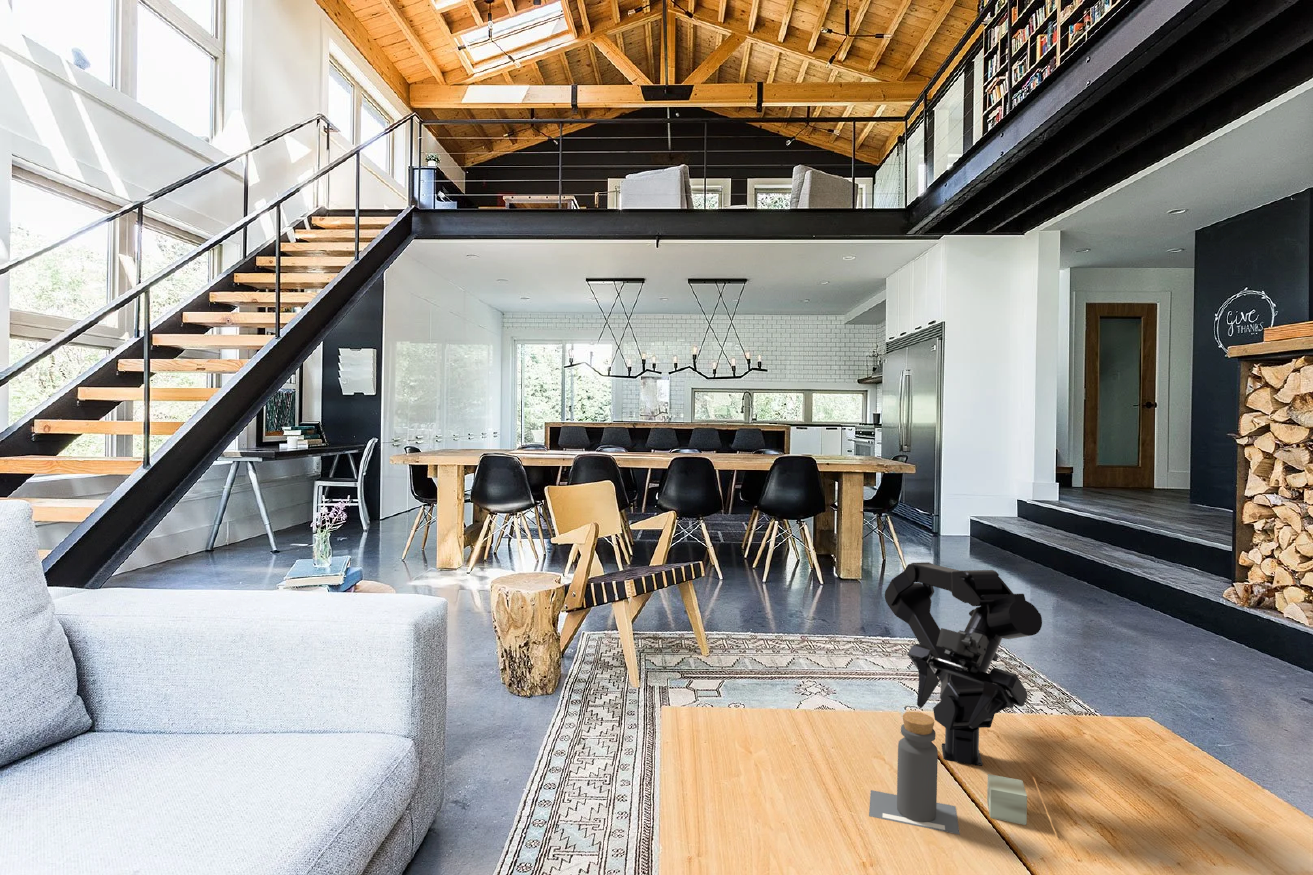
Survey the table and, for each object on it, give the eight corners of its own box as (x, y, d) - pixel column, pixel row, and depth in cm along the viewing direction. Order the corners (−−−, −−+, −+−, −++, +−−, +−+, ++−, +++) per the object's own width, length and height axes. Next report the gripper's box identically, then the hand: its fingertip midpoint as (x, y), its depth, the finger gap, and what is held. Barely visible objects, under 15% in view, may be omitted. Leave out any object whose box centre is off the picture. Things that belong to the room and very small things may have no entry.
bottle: (940, 824, 102) (942, 727, 102) (899, 819, 103) (902, 723, 103) (931, 803, 108) (934, 711, 108) (893, 799, 109) (895, 708, 109)
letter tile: (870, 792, 112) (870, 789, 112) (955, 808, 107) (955, 805, 107) (868, 818, 104) (868, 815, 104) (959, 836, 100) (959, 834, 100)
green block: (987, 804, 109) (987, 773, 109) (1021, 810, 107) (1022, 780, 107) (990, 820, 104) (990, 789, 104) (1026, 828, 102) (1027, 796, 102)
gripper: (914, 598, 121) (875, 671, 114) (1020, 624, 105) (981, 710, 99) (938, 634, 125) (902, 706, 119) (1043, 664, 110) (1007, 748, 104)
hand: (943, 716), depth 110 cm, fingers open, 9 cm apart
